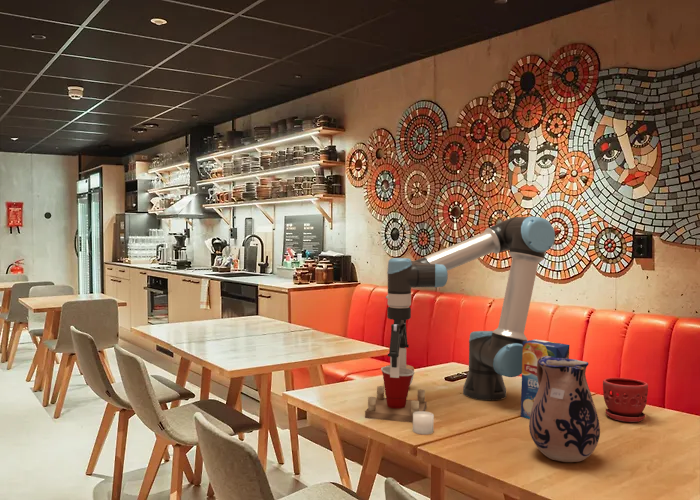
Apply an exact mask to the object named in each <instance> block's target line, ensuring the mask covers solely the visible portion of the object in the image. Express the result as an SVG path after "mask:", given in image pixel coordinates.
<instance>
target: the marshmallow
mask: <svg viewBox="0 0 700 500" xmlns="http://www.w3.org/2000/svg"><path fill="white" fill-rule="evenodd" d="M434 416H435V415H434V413H433V412H430V411H426V410H425V411H418V412H414V413H413V422H412V432H413V433H414V434H417V435H431V434H433V433H434V425H435V424H434V423H435V421H434V419H435V417H434Z"/></svg>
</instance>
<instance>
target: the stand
mask: <svg viewBox="0 0 700 500" xmlns="http://www.w3.org/2000/svg"><path fill="white" fill-rule="evenodd" d="M425 398H426V390H425V389H421V388H420V389H417V398H416V400H415V399H407V400H406V405H405V407H404V408H399V409H397V408H390V407H388V405H387V400H386V397H385V387H384V385H383V386H382V385H378V386H377V387H376V396H367V409H366V410H365V411H364V418H365V419H374V420H375V419H376V420H386V421H396V422H407V423H413V413H414V412H418V411H426V410H427V407H428V406H427V405H428V401H427V400H426V399H425Z"/></svg>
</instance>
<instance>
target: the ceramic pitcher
mask: <svg viewBox="0 0 700 500" xmlns="http://www.w3.org/2000/svg"><path fill="white" fill-rule="evenodd" d="M588 366H589V362H588V361H584V360H583V361H582V360H578V359H573V358H569V359H567V358H565V359H564V358H554V357H550V356H544V357H541V358H540V359H539V360H538V363H537V378H538V384H539V389H538V392H537V394H536V397H535V399H534V403H533V406H532V409H531V414H530V419H529V422H528V423H529V424H528V427H529V428H528V430H529V434H530V437H531V440H533V441H532V442H533V443H534V445H535V446H536V448H537V449H538V450H539V452H540V453H542V454H543V455H544V456H545V457H547V458H548V459H550V460H553V461H557V462H563V463H578V462H582V461H584V460H586V459H587V458H589V457H590V456H591V455H592V454H593V453H594V451H595V450H596V447H597V446H598V443H599V441H600V436H601V426H600V419H599V415H598V412H597V409H596V406H595V402H594V399H593V396H592V393H591V391H590V387H589V383H588V381H587V376H586V372H587V367H588Z"/></svg>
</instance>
